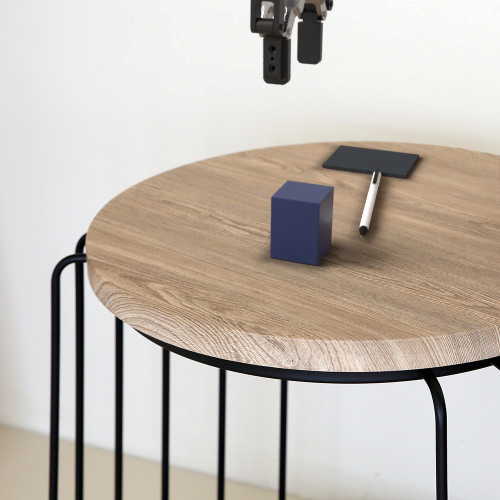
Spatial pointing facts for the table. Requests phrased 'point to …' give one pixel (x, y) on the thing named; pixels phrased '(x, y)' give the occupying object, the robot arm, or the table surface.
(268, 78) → the robot arm
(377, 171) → the pen
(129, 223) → the table surface
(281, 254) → the block
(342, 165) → the mat
